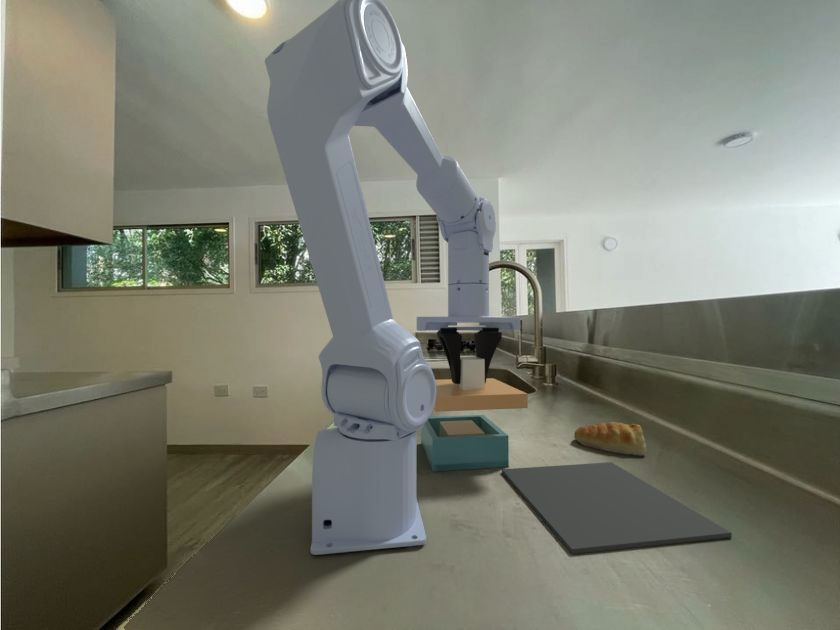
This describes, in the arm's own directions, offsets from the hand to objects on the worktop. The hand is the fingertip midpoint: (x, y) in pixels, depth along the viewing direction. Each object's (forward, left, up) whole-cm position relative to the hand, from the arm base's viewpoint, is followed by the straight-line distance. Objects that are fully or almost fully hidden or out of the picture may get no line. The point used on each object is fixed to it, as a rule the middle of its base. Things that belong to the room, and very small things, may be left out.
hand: (468, 382), depth 47 cm
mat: (+10, -13, -10) cm, 19 cm away
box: (-1, +1, -10) cm, 10 cm away
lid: (0, 0, -1) cm, 1 cm away
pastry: (+23, +1, -11) cm, 25 cm away
